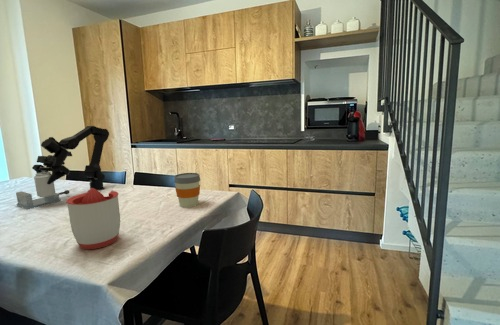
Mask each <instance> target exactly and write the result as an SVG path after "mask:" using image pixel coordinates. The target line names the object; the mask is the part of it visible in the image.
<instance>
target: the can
mask: <svg viewBox="0 0 500 325" xmlns="http://www.w3.org/2000/svg"><path fill="white" fill-rule="evenodd" d="M34 174H35V176H34V177H33V179H34V185H35V190H36V196H37V197H39V198H43V197H49V196H52V195H54V194H55V193H56V188H55V181H54V182H52V183H51V184H47V182H48V180H49V178H50V177H51V175H52V171H49V172H41V173H34Z"/></svg>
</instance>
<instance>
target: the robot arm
mask: <svg viewBox="0 0 500 325" xmlns="http://www.w3.org/2000/svg"><path fill="white" fill-rule="evenodd" d="M90 136H93V139H94V144H93V145H94V146H93V150H92V154H91V157H90V158H91V159H90V163H89V164H88V165H85V166H84V167H85V168H84V171H83V172H84V176H85V178H86V180H87V181H89V183H88V184H89V190H90V189H91V188H94V189H96V190H98V191H99V190H104V189H105V187H104V181H103V180H105V179H106V178H105V177H106V175H105V174H104V173H103V172H102V168H101V164H100V163H101V160H102V154H103V148H104V144H105V143H106V141H107V140H108V139H109V136H110V131H109V130H108V129H107V128H101V127H97V126H95V125H87V126H85V128H83V129H82V130H80V131H78V132H77V133H75V134H74V135H72V136H69V137H66V138H63V139H61V140H60V141H57V140H56V138H54V137H53V136H50V137H48V138H46V139H45V140H43V141H42V142H41V144H40V146H41V147H42V148H43V149H44V150H46V151H47V152H49V153H50V154H48V155H47V156H46V155H38V156H37V159H36V163H40V164H34V165H33V166H32V167H31V170H34V171H35V174H37V173H41V172H51V174H52V175H51V177H50V178H49V180H48V182H47V184H51V183H52V182H54V183H55V182H56V181H57V180H59V179H61V178H62V177H65V176H69V174H70V173H71V172H70V171H71V170H70V169H69V168H68V167H67V166H66V165H65V164H66V163H65V161H66V159H67V157H73V154H72V151H69V150H75V149H76V148H77V147H78V146H79V145H80V143H81V141H83V140H85V139H86V138H87V137H90ZM51 154H53V155H51Z"/></svg>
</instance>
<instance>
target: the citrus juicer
mask: <svg viewBox="0 0 500 325" xmlns="http://www.w3.org/2000/svg"><path fill="white" fill-rule="evenodd" d="M119 202H120V201H119V192H118V191H116V190H115V191H114V190H111V191H109V192H108V195H107V196H104V194H103V193H101V192H100V191H99V190H96V189H94V188H91V189H90V188H89V190H88V191H87V192H84V193H80V194H76V195H74V196H71V197H68V198H67V199H66V201H65V203H67V209H68V216H69V223H70V228H71V232H72V234H73V237H74V239H75V242H76V243H77V245H78V246H79V248H81V249H84V250H96V249H102V248H101V247H103V248H106V247H107V246H109V245H112V244H113V243H115V242H116V241H117V240H118V236H119V234H120V228H121V214H120V203H119ZM105 246H106V247H105Z"/></svg>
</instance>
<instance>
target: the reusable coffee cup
mask: <svg viewBox="0 0 500 325" xmlns="http://www.w3.org/2000/svg"><path fill="white" fill-rule="evenodd" d="M200 181H201V176H200V173H197V172H183V173H178V174H175V175H174V180H173V182H174V183H175V184H174V185H175V194H176V197H177V198H178V203H179V206H180V207H181V208H193V207H195V206H198V205H199V196H200V191H201V184H200Z"/></svg>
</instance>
